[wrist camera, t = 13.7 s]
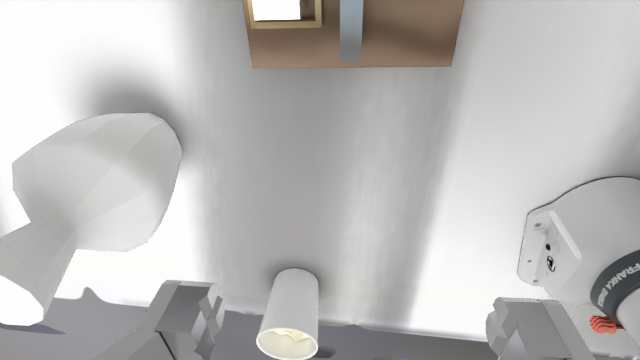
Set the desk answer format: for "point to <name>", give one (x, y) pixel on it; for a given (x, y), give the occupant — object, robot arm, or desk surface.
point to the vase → (84, 202)
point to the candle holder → (291, 317)
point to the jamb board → (378, 36)
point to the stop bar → (279, 9)
